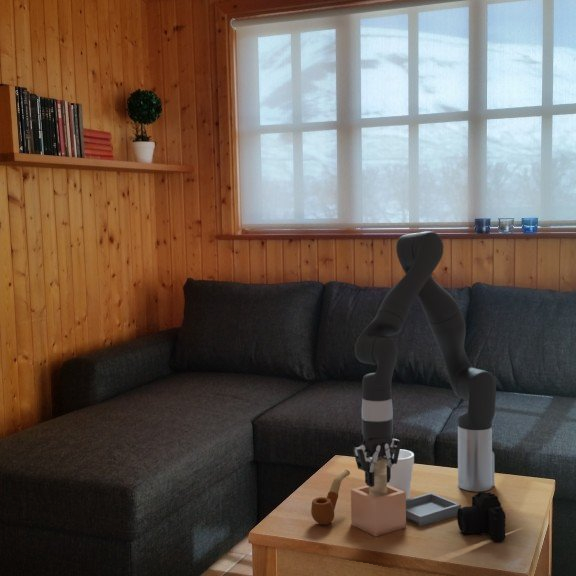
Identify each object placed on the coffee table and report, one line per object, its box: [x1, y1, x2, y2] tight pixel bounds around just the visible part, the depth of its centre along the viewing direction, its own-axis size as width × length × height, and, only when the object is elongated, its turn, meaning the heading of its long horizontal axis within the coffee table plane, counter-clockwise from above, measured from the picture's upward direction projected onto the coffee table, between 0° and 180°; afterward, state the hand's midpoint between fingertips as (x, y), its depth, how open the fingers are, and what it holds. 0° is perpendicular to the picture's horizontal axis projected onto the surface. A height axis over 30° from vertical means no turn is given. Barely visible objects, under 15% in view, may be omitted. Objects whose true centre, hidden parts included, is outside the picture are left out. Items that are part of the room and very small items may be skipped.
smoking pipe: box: [310, 469, 351, 526], centre depth 204 cm, size 7×18×6 cm
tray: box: [406, 492, 462, 527], centre depth 205 cm, size 14×11×2 cm
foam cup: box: [387, 448, 415, 500], centre depth 213 cm, size 10×9×13 cm
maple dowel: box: [369, 457, 387, 498], centre depth 197 cm, size 4×4×16 cm
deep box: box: [350, 484, 407, 537], centre depth 197 cm, size 10×10×9 cm
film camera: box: [456, 491, 507, 542], centre depth 193 cm, size 15×10×9 cm, turn 6°
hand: (377, 483), depth 196 cm, fingers closed on maple dowel, 4 cm apart
